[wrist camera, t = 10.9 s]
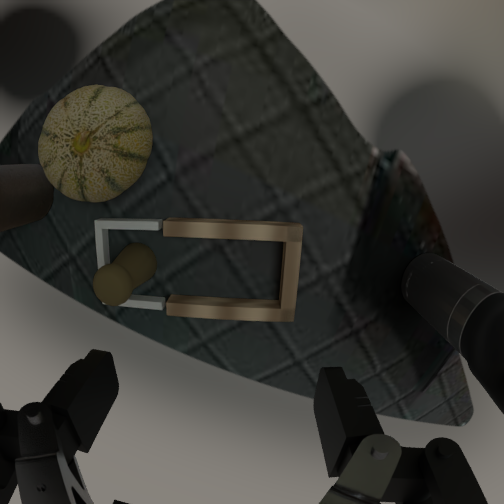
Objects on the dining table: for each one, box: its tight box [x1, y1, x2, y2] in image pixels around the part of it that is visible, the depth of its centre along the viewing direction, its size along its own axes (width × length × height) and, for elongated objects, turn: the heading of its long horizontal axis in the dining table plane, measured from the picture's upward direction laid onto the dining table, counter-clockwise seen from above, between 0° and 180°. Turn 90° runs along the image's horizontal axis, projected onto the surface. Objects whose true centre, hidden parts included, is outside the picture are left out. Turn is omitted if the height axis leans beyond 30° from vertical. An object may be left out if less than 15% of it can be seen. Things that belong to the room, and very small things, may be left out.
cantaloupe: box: [38, 85, 153, 202], centre depth 31 cm, size 15×15×15 cm
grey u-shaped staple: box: [95, 218, 166, 310], centre depth 42 cm, size 10×13×2 cm
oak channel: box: [163, 218, 303, 322], centre depth 41 cm, size 18×14×3 cm
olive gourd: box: [93, 243, 157, 306], centre depth 37 cm, size 6×6×11 cm
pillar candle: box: [0, 164, 54, 232], centre depth 32 cm, size 10×10×15 cm
